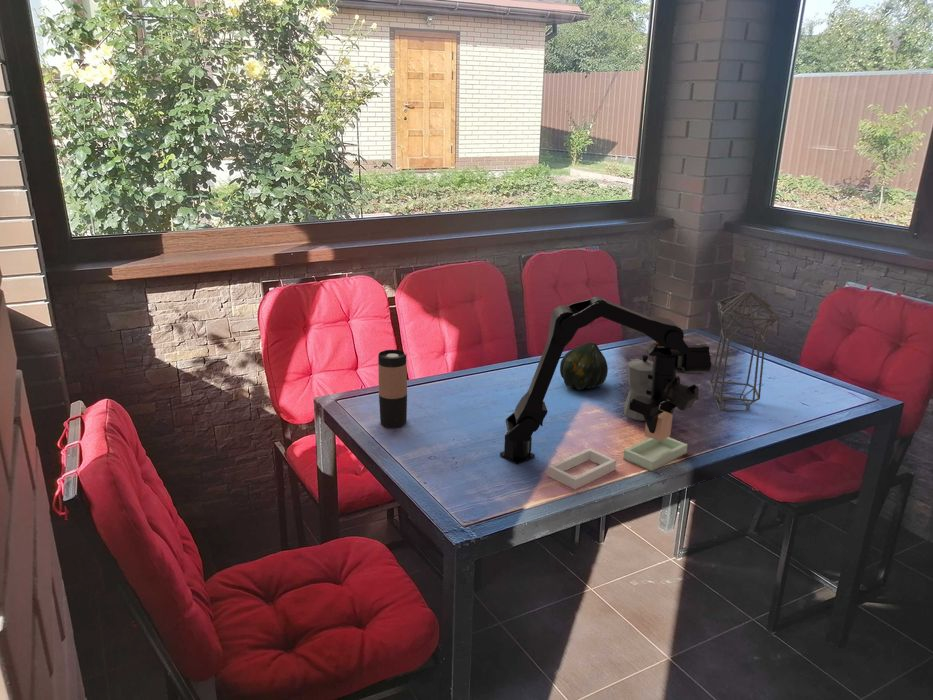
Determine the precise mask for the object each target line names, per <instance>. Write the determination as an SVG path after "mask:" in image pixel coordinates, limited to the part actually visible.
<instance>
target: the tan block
mask: <svg viewBox="0 0 933 700" xmlns="http://www.w3.org/2000/svg"><path fill="white" fill-rule="evenodd" d="M662 411H663V410H662ZM673 416H674V415H673V413H672V414H671V413H668V412H666V411H664V412H663V413H661V414H660V415H659V416H658V420H657V424H656V429H655V432H654V433H651V432H650V431H649V429H648V426H647V424H646V423H645V426H644V436H646V437H648V438H653V439H655V440H658V441H661V440H663V439H665V438H668V437H670V438H671V431H672V423H673Z"/></svg>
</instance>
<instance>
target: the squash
mask: <svg viewBox="0 0 933 700" xmlns="http://www.w3.org/2000/svg"><path fill="white" fill-rule="evenodd" d="M608 371H609V367H608V362H607V359H606V357H605V356H604V354H603V352H602V351H601V350H600V348H599V345H597V343H596V342H593V341H592V342H591V341H590V342H585V343H582V344H580V345H578V346H576V347H574V348H573V349H571V350H569V351H568V352H567V353H565V354H564V355H563V356H562V359H561V361H560V364H559V373H560V376H561V378H562V379H563V382H564V384H565V386H566V387H567V388H568V389H577V390H584V389H585V388H586V389H593V388H596V387H599V386H602V385H603V384H604V383H605V382H606V379H607V377H608V373H609V372H608Z"/></svg>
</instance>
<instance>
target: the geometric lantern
mask: <svg viewBox="0 0 933 700" xmlns="http://www.w3.org/2000/svg"><path fill="white" fill-rule="evenodd" d="M751 298H753V299H754V300H755V301H756V302H757V303H758V304H753V303H752V299H751ZM729 300H731V301H729ZM728 301H729V302H728ZM747 302H748V304H747ZM743 303H744V304H743ZM715 304H716V305H717V310H718V318H717V319H718V320H719V322H720V326H721V329H720V334H719V340H718V343H717V344H718V345H717V348H716V353H715V357H714V363H713V369H712V373H711V377H710V382H709V385H710V386H709V387H710V390H711V395H712V396H713V398H715V403H716V405H717V407H718V410H720V411H727V412H728V411H729V412H730V411H731V412H746V413H747V412H748V411H749V410H750V407H751V404H754V403H755V402H757V401H759V400H760V399H761V393H762V391H761V390H762V380H763V369H764V362H765V361H764V359H765V351H766V350H765V348H766V343H767V341H766V340H765V338H766V334H767V330H768V328H769V326H770V327H772V326H773V324H775V322H777V320H778V321H779V320H781V318H780V317H779V316H778V315H777V314H776V313H775V312H774V311H773V309H772V306H771V304H769V303H767V302H766V301H765V300H763V298H761V297H759V296H758V295H757V294H756V293H755V292H754V291H751V290H746V291H745V290H744V291H743V292H740V293H736V294H735V295H732V296H729V297H726V298H723V299H721V300H717V301H715ZM737 307H738V310H736V309H737ZM741 307H742V311H741ZM753 307H758V308H756V309H755V310H753ZM746 308H749V309H748V312H747V313H745V310H746ZM762 309H763V310H765V312H766V313H768V317H767V318H766V317H761V318H760V317H759V318H756V317H755V318H754V314H755V313H756V312H758V311H760V310H762ZM730 310H731V311H730ZM728 311H730V312H729V313H728ZM726 313H728V314H727V315H726ZM732 313H735V314H732ZM724 317H725V318H729V319H731V321H730V323H729V324H728V326H727V327H726V328H724V324H723V318H724ZM736 318H739V319H740V322H738V321H737V320H736ZM743 319H744V320H748V321H749V322H750V325H751V326H747V325H746V326H743ZM754 321H761V322H759V323H757V324H755V325H754ZM762 321H763V322H762ZM733 323H735V324H736V325H738V326H739V327H738V328H737V329H731V328H730V327H731V325H732V324H733ZM762 325H764V326H763V328H762V329H761V331H760V332H759V331H757V329H756V328H757V327H759V326H762ZM745 329H751V330H745ZM729 331H733V333H731V335H730V336H728V332H729ZM737 332H746V333H753V334H754V337H753V342H752V341H742V340H733V339H730V338H731V337H732V336H733V335H735V334H736V333H737ZM763 332H764V334H763ZM758 335H759V336H758ZM722 339H723V341H722ZM731 342H732V343H733V342H734V343H745V344H752V350H751V356H750V360H749V367H748V372H747V378H746V383H744V382H733V381H732V382H731V381H725V377H726V371H727V363H728V354H729V350H730V349H729V347H730V343H731ZM721 344H722V346H721ZM756 345H757V350H756V358H755V359H756V361H755V369H754V370H755V371H754V382H753V385H752V384H750V383H749V381H750V374H751V370H752V364H753V360H754V359H753V357H754V353H755V347H756ZM761 345H762V351H761ZM725 347H726V350H725ZM720 348H721V350H720ZM719 351H720V352H719ZM760 351H761V362H760V373H759V383H758V390H757V380H758V370H759V359H760ZM724 352H725V357H724ZM719 353H720V356H719ZM718 357H719V361H718ZM723 357H724V358H725V359H724V366H723V374H722V380H720V381H719V375H720V371H721V365H722V361H723ZM717 362H718V365H717ZM716 367H717V369H716ZM715 372H716V375H715ZM714 375H715V379H714ZM713 380H714V381H713ZM718 384H721V386H720V387H721V388H720V390H719V386H718ZM724 384H725V385H726V384H727V385H739V386H744V388H743V390H742V392H741V393H740V392H739V393H736V392H724ZM747 387H749V388H751V389H750V390H749V391H748V392H746V393H745V390H746V388H747ZM716 389H717V390H716ZM751 392H752V399H748V398H747V395H749V394H750V393H751ZM744 393H745V394H744ZM723 395H737V396H739V397H731V396H723ZM742 396H743V397H742ZM756 397H757V398H756ZM724 400H727V401H739V402H740V401H741V402H743V403H734V402H725V401H724ZM746 402H747V403H746ZM719 403H720V405H719ZM722 405H723V408H722ZM726 405H736V406H737V405H738V406H745V407H746V408H745V409H727V408H726Z"/></svg>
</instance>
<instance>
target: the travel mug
mask: <svg viewBox="0 0 933 700" xmlns="http://www.w3.org/2000/svg"><path fill="white" fill-rule="evenodd" d="M377 357H378V359H377V362H378V368H377V369H378V403H379V417H380V420H379V421H380V425H381V426H383V427H385V428H389V429H398V428H401V427H403V426H405V425H406V424H407V418H408V417H407V416H408V415H407V414H408V413H407V412H408V380H407V379H408V377H407V376H408V375H407V373H408V371H407V370H408V369H407V354H405V352H404V351H403V350H399V349H385V350H383V351H380V352H379V353H378V355H377Z"/></svg>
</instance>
